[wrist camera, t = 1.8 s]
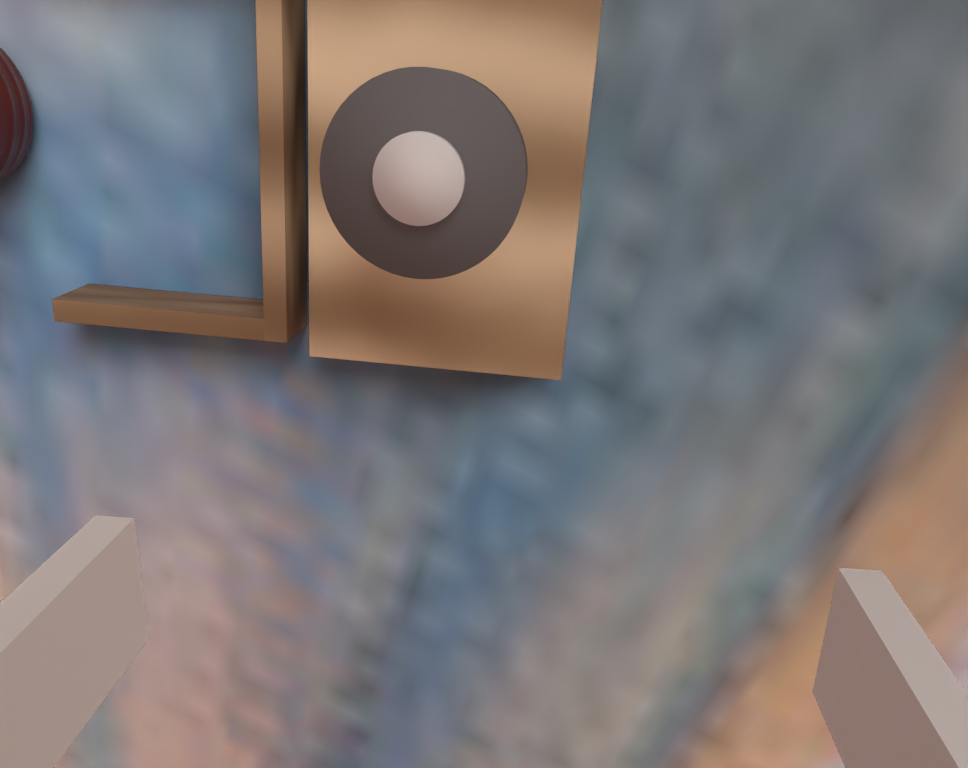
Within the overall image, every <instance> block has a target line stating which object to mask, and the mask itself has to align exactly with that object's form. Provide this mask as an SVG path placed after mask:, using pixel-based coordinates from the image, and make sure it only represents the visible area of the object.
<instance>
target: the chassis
mask: <svg viewBox="0 0 968 768" xmlns="http://www.w3.org/2000/svg"><path fill="white" fill-rule="evenodd" d="M602 2H603V0H307V20H308V194H309V356H313V357H324V358H334V359H345V360H355V361H366V362H376V363H387V364H397V365H408V366H418V367H429V368H439V369H450V370H460V371H471V372H481V373H492V374H502V375H512V376H523V377H533V378H544V379H554V380H561V376H562V367H563V358H564V349H565V340H566V331H567V322H568V313H569V303H570V294H571V285H572V276H573V267H574V258H575V249H576V240H577V230H578V221H579V212H580V203H581V194H582V185H583V176H584V167H585V158H586V148H587V139H588V130H589V121H590V112H591V103H592V94H593V85H594V75H595V66H596V57H597V48H598V39H599V30H600V21H601V12H602ZM256 39H257V77H258V115H259V154H260V192H261V231H262V269H263V300H261V299H250V298H239V297H228V296H217V295H207V294H196V293H185V292H174V291H163V290H152V289H141V288H130V287H119V286H108V285H97V284H87V285H85V286H83V287H80V288H78V289H75V290H73V291H71V292H68V293H66V294H63V295H61V296H58V297H56V298H54V299H52V304H53V312H54V320H55V321H58V322H69V323H79V324H90V325H101V326H111V327H122V328H132V329H143V330H153V331H164V332H175V333H185V334H196V335H206V336H217V337H227V338H238V339H249V340H259V341H270V342H280V343H287V342H289V341H290V340H291V339H292V338H293V337H294V336H295V335H296V334H297V333H298V332H299V331H300V330H301V329H302V328H304V327H305V326H306V325H307V257H306V109H305V0H256ZM406 67H431V68H438V69H444V70H450V71H454V72H458V73H461V74H464V75H466V76H468V77H471V78H473V79H475V80H477V81H478V82H480V83H482V84H483V85H485V86H486V87H488V88H489V89H490V90H491V91H492V92H494V93H495V94H496V95H497V96H498V97H499V98H500V99H501V100H502V101H503V103H504V104H505V105H506V106H507V108H508V109H509V111H510V112H511V113H512V115H513V117H514V118H515V120H516V122H517V124H518V126H519V128H520V131H521V134H522V136H523V139H524V143H525V148H526V152H527V162H528V175H527V184H526V190H525V193H524V197H523V200H522V204H521V207H520V210H519V213H518V215H517V217H516V220H515V222H514V224H513V226H512V228H511V230H510V231H509V233H508V235H507V236H506V238H505V239H504V240H503V242H502V243H501V244H500V245H499V247H498V248H497V249H496V250H495V251H494V252H493V253H492V254H491V255H489V256H488V257H487V258H486V259H484V260H483V261H482V262H480V263H479V264H477V265H476V266H474V267H472V268H470V269H468V270H466V271H464V272H461V273H459V274H456V275H453V276H449V277H445V278H438V279H413V278H407V277H402V276H399V275H395V274H392V273H389V272H387V271H385V270H382V269H380V268H378V267H377V266H375V265H373V264H371V263H370V262H368V261H367V260H365V259H364V258H363V257H362V256H360V255H359V254H358V253H357V252H356V251H355V250H354V249H353V248H352V247H351V246H350V245H349V244H348V243H347V242H346V241H345V240H344V238H343V237H342V236H341V234H340V233H339V231H338V230H337V228H336V227H335V225H334V223H333V222H332V219H331V217H330V215H329V213H328V211H327V208H326V205H325V202H324V199H323V195H322V189H321V184H320V170H319V168H320V154H321V149H322V144H323V140H324V137H325V134H326V131H327V128H328V126H329V124H330V122H331V120H332V118H333V116H334V114H335V113H336V111H337V110H338V108H339V107H340V105H341V104H342V103H343V102H344V101H345V100H346V98H347V97H348V96H349V95H350V94H351V93H352V92H354V91H355V90H356V89H357V88H358V87H359V86H361V85H362V84H364V83H365V82H367V81H368V80H370V79H372V78H374V77H376V76H378V75H380V74H382V73H385V72H388V71H391V70H395V69H399V68H406Z"/></svg>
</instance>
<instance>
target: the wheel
mask: <svg viewBox="0 0 968 768" xmlns="http://www.w3.org/2000/svg"><path fill="white" fill-rule="evenodd" d="M319 170H320V184H321V189H322V195H323V199H324V202H325V205H326V208H327V211H328V213H329V215H330V217H331V219H332V222H333V223H334V225H335V227H336V228H337V230H338V231H339V233H340V234H341V236H342V237H343V238H344V240H345V241H346V242H347V243H348V244H349V245H350V246H351V247H352V248H353V249H354V250H355V251H356V252H357V253H358V254H359V255H360V256H362V257H363V258H364V259H365V260H367V261H368V262H370V263H371V264H373V265H375V266H377V267H378V268H380V269H382V270H385V271H387V272H389V273H392V274H395V275H399V276H402V277H407V278H413V279H438V278H445V277H449V276H453V275H456V274H459V273H461V272H464V271H466V270H468V269H470V268H472V267H474V266H476V265H477V264H479V263H480V262H482V261H483V260H484V259H486V258H487V257H488V256H489V255H491V254H492V253H493V252H494V251H495V250H496V249H497V248H498V247H499V245H500V244H501V243H502V242H503V240H504V239H505V238H506V236H507V235H508V233H509V231H510V230H511V228H512V226H513V224H514V222H515V220H516V217H517V215H518V213H519V210H520V207H521V204H522V200H523V197H524V193H525V190H526V184H527V175H528V162H527V152H526V148H525V143H524V139H523V136H522V134H521V131H520V128H519V126H518V124H517V122H516V120H515V118H514V117H513V115H512V113H511V112H510V111H509V109H508V108H507V106H506V105H505V104H504V103H503V101H502V100H501V99H500V98H499V97H498V96H497V95H496V94H495V93H494V92H492V91H491V90H490V89H489V88H488V87H486V86H485V85H483V84H482V83H480V82H478V81H477V80H475V79H473V78H471V77H468V76H466V75H464V74H461V73H458V72H454V71H450V70H444V69H438V68H431V67H406V68H399V69H395V70H391V71H388V72H385V73H382V74H380V75H378V76H376V77H374V78H372V79H370V80H368V81H367V82H365V83H364V84H362V85H361V86H359V87H358V88H357V89H356V90H355V91H354V92H352V93H351V94H350V95H349V96H348V97H347V98H346V100H345V101H344V102H343V103H342V104H341V105H340V107H339V108H338V110H337V111H336V113H335V114H334V116H333V118H332V120H331V122H330V124H329V126H328V128H327V131H326V134H325V137H324V140H323V144H322V149H321V154H320V168H319Z"/></svg>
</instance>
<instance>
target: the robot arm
mask: <svg viewBox="0 0 968 768" xmlns="http://www.w3.org/2000/svg"><path fill="white" fill-rule="evenodd" d="M149 639H150V637H149V629H148V621H147V614H146V606H145V598H144V590H143V583H142V575H141V567H140V559H139V552H138V544H137V536H136V529H135V521H134V518H125V517H111V516H97V515H95V516H94V517H93V518H92V519H91V520H90V521H89V522H88V523H87V524H86V525H84V526H83V527H82V528H81V529H80V530H79V531H78V532H77V533H76V534H75V535H74V536H72V537H71V538H70V539H69V540H68V541H67V542H66V543H65V544H64V545H63V546H62V547H61V548H59V549H58V550H57V551H56V552H55V553H54V554H53V555H52V556H51V557H50V558H49V559H47V560H46V561H45V562H44V563H43V564H42V565H41V566H40V567H39V568H38V569H37V570H35V571H34V572H33V573H32V574H31V575H30V576H29V577H28V578H27V579H26V580H25V581H23V582H22V583H21V584H20V585H19V586H18V587H17V588H16V589H15V590H14V591H13V592H11V593H10V594H9V595H8V596H7V597H6V598H5V599H4V600H3V601H2V602H1V603H0V768H54V767H55V765H56V764H57V763H58V761H59V760H60V759H61V757H62V756H63V755H64V753H65V752H66V751H67V749H68V748H69V747H70V745H71V744H72V742H73V741H74V740H75V738H76V737H77V736H78V734H79V733H80V732H81V730H82V729H83V728H84V726H85V725H86V724H87V722H88V721H89V720H90V718H91V717H92V716H93V714H94V713H95V712H96V710H97V709H98V707H99V706H100V705H101V703H102V702H103V701H104V699H105V698H106V697H107V695H108V694H109V693H110V691H111V690H112V689H113V687H114V686H115V685H116V683H117V682H118V681H119V679H120V678H121V677H122V675H123V674H124V672H125V671H126V670H127V668H128V667H129V666H130V664H131V663H132V662H133V660H134V659H135V658H136V656H137V655H138V654H139V652H140V651H141V650H142V648H143V647H144V646H145V644H146V643H147V642H148V640H149ZM813 694H814V696H815V698H816V701H817V703H818V705H819V708H820V710H821V712H822V715H823V717H824V719H825V722H826V724H827V726H828V728H829V731H830V733H831V735H832V738H833V740H834V742H835V745H836V747H837V749H838V752H839V754H840V756H841V758H842V761H843V763H844V765H845V768H968V695H967V693H966V692H965V690H964V689H963V687H962V686H961V685H960V683H959V682H958V680H957V679H956V677H955V676H954V674H953V673H952V671H951V670H950V669H949V667H948V666H947V664H946V663H945V661H944V660H943V658H942V657H941V655H940V654H939V653H938V651H937V650H936V648H935V647H934V645H933V644H932V642H931V641H930V640H929V638H928V637H927V635H926V634H925V632H924V631H923V629H922V628H921V626H920V625H919V624H918V622H917V621H916V619H915V618H914V616H913V615H912V613H911V612H910V610H909V609H908V608H907V606H906V605H905V603H904V602H903V600H902V599H901V597H900V596H899V595H898V593H897V592H896V590H895V589H894V587H893V586H892V584H891V583H890V581H889V580H888V579H887V577H886V576H885V574H884V573H883V571H877V570H863V569H849V568H838V573H837V577H836V582H835V587H834V592H833V597H832V601H831V606H830V611H829V616H828V621H827V625H826V630H825V635H824V640H823V645H822V649H821V654H820V659H819V664H818V668H817V673H816V678H815V683H814V688H813Z"/></svg>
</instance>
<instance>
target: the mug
mask: <svg viewBox="0 0 968 768" xmlns="http://www.w3.org/2000/svg"><path fill="white" fill-rule="evenodd" d="M32 132H33V112H32V105H31V101H30V97H29V93H28V90H27V88H26V85H25V83H24V80H23V78H22V76H21V75H20V73H19V71H18V69H17V68H16V66H15V65H14V63H13V62H12V60H11V59H10V58H9V56H8V55H7V54H6V53H5V52H4V51H3V50H2V49H1V48H0V181H1V180H2V179H4V178H6V177H7V176H9V175H10V174H11V173H12V172H13V171H14V170H15V169H16V168H17V167H18V166H19V165H20V163H21V162H22V161H23V159H24V157H25V155H26V153H27V151H28V149H29V146H30V143H31V138H32Z"/></svg>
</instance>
